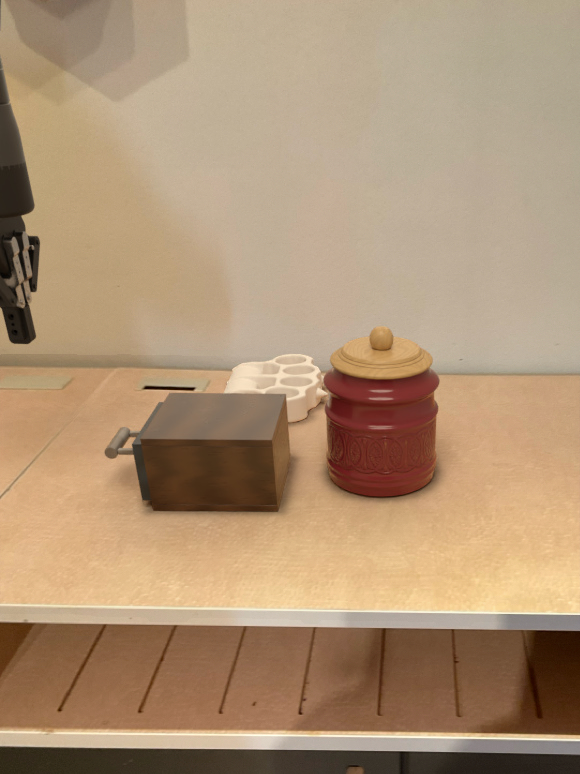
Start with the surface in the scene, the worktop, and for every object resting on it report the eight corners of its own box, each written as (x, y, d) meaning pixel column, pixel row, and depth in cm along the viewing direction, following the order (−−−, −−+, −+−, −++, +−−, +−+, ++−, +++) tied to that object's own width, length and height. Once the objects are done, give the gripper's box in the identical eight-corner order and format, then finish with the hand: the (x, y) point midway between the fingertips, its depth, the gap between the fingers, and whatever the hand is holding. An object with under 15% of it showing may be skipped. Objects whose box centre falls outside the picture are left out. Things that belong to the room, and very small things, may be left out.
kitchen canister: (382, 511, 87) (383, 355, 77) (304, 473, 94) (295, 326, 85) (458, 472, 95) (466, 326, 85) (380, 439, 102) (380, 302, 93)
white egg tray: (237, 374, 121) (333, 374, 121) (217, 423, 106) (327, 423, 106) (235, 353, 119) (332, 353, 120) (214, 399, 104) (326, 399, 104)
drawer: (103, 500, 86) (90, 443, 82) (132, 453, 96) (122, 401, 92) (257, 501, 86) (251, 445, 83) (270, 455, 96) (266, 402, 92)
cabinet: (153, 510, 86) (139, 438, 82) (179, 458, 97) (169, 392, 92) (277, 511, 86) (271, 439, 82) (290, 459, 97) (286, 393, 92)
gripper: (-28, 148, 78) (13, 321, 88) (-99, 166, 67) (-43, 363, 77) (48, 150, 78) (81, 323, 88) (-10, 169, 67) (35, 365, 77)
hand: (23, 341), depth 82 cm, fingers closed
